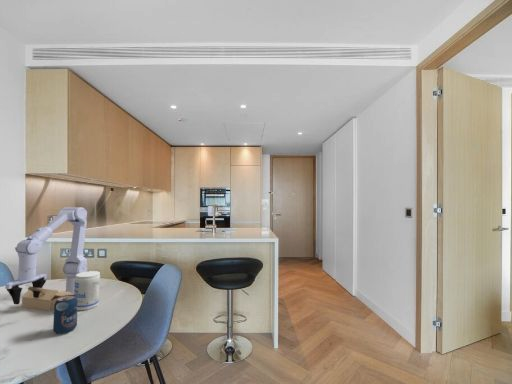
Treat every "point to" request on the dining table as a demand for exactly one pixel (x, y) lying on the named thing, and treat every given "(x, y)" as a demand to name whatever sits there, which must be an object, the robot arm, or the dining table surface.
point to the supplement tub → (87, 289)
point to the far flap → (44, 293)
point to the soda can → (65, 314)
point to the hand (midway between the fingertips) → (26, 300)
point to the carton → (43, 302)
